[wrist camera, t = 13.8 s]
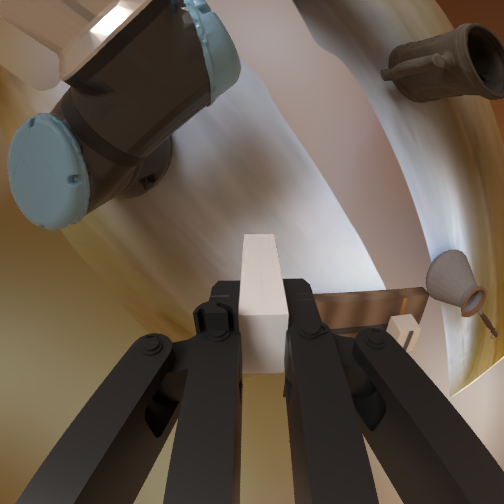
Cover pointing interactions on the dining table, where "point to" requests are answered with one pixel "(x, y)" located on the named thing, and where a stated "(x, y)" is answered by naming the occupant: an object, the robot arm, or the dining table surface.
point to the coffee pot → (457, 285)
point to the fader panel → (368, 308)
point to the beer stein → (449, 65)
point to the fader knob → (404, 330)
